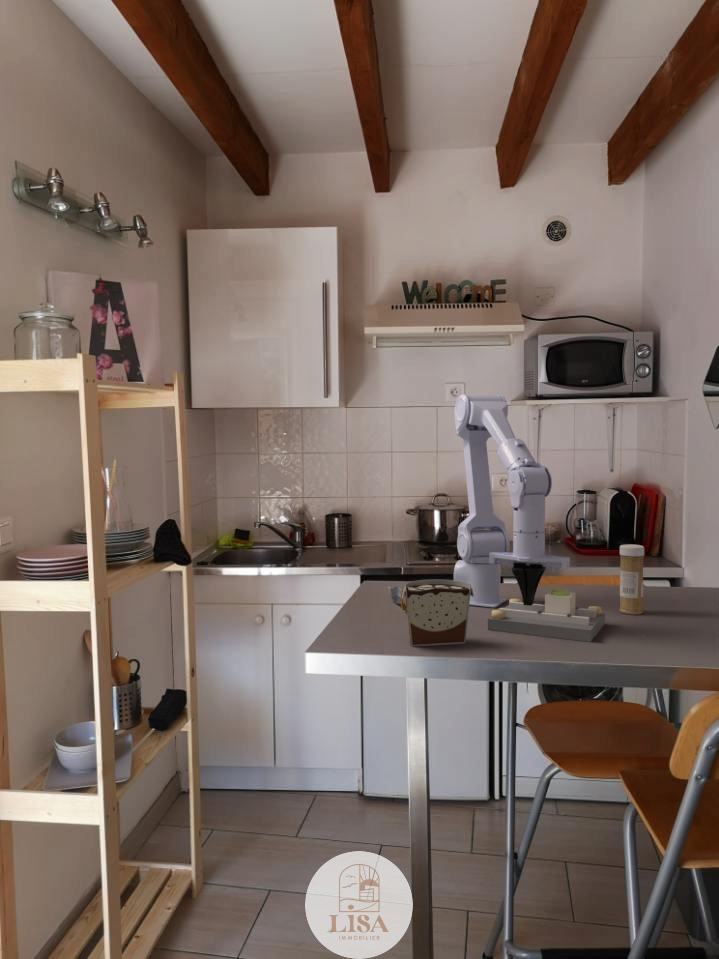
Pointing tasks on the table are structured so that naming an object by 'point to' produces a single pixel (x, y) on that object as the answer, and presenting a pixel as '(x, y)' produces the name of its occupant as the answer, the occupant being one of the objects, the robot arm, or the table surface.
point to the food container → (437, 611)
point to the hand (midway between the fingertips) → (528, 604)
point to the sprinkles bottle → (631, 579)
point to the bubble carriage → (560, 602)
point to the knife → (398, 596)
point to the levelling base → (547, 621)
